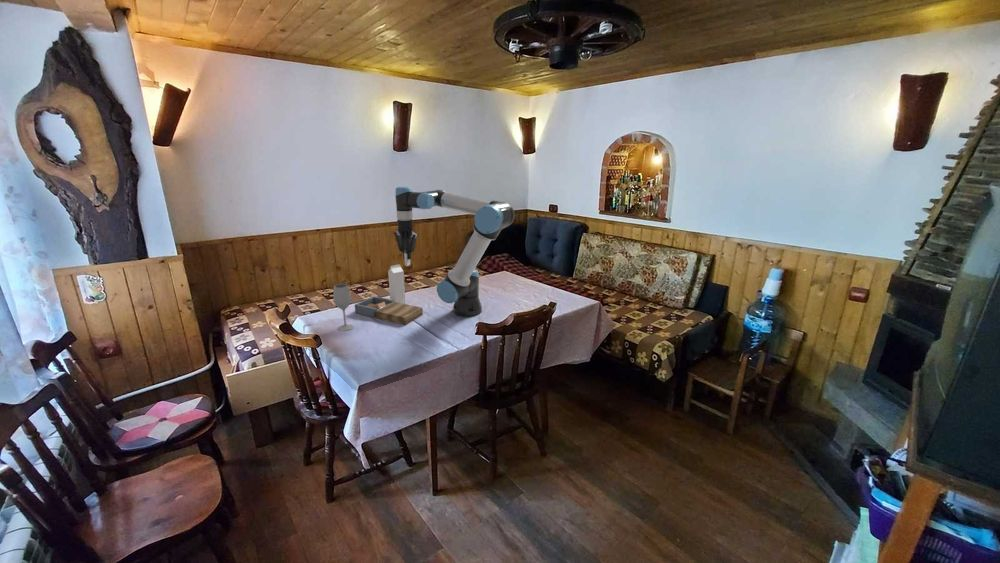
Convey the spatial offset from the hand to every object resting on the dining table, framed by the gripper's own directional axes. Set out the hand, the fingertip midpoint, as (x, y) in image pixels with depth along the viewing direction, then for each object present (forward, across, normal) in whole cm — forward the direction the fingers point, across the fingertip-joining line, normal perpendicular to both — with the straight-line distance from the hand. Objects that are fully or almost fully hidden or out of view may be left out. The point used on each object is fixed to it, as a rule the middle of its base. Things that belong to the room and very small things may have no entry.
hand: (407, 265), depth 200 cm
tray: (+24, +15, +10) cm, 30 cm away
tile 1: (+22, +17, +10) cm, 29 cm away
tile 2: (+22, +12, +10) cm, 27 cm away
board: (+24, -1, +10) cm, 26 cm away
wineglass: (+25, +14, +32) cm, 42 cm away
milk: (+25, +11, -4) cm, 27 cm away
